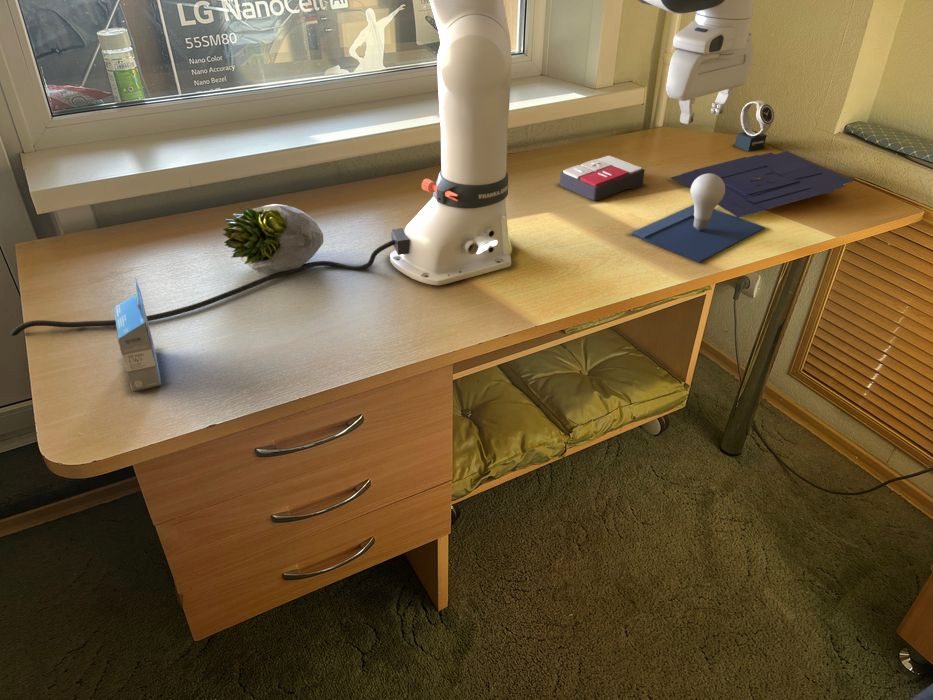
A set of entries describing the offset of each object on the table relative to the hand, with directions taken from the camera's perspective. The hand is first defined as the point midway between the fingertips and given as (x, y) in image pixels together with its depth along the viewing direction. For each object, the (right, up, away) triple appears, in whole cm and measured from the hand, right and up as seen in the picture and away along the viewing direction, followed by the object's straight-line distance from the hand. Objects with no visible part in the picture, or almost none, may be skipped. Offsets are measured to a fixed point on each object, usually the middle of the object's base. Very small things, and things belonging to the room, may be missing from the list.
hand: (701, 118), depth 125 cm
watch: (+29, +10, +52) cm, 60 cm away
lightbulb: (+3, -18, +10) cm, 21 cm away
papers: (+22, -7, +28) cm, 36 cm away
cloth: (+3, -18, +10) cm, 21 cm away
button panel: (-12, -5, +30) cm, 32 cm away
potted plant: (-74, -27, -4) cm, 79 cm away
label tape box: (-85, -44, -28) cm, 100 cm away
